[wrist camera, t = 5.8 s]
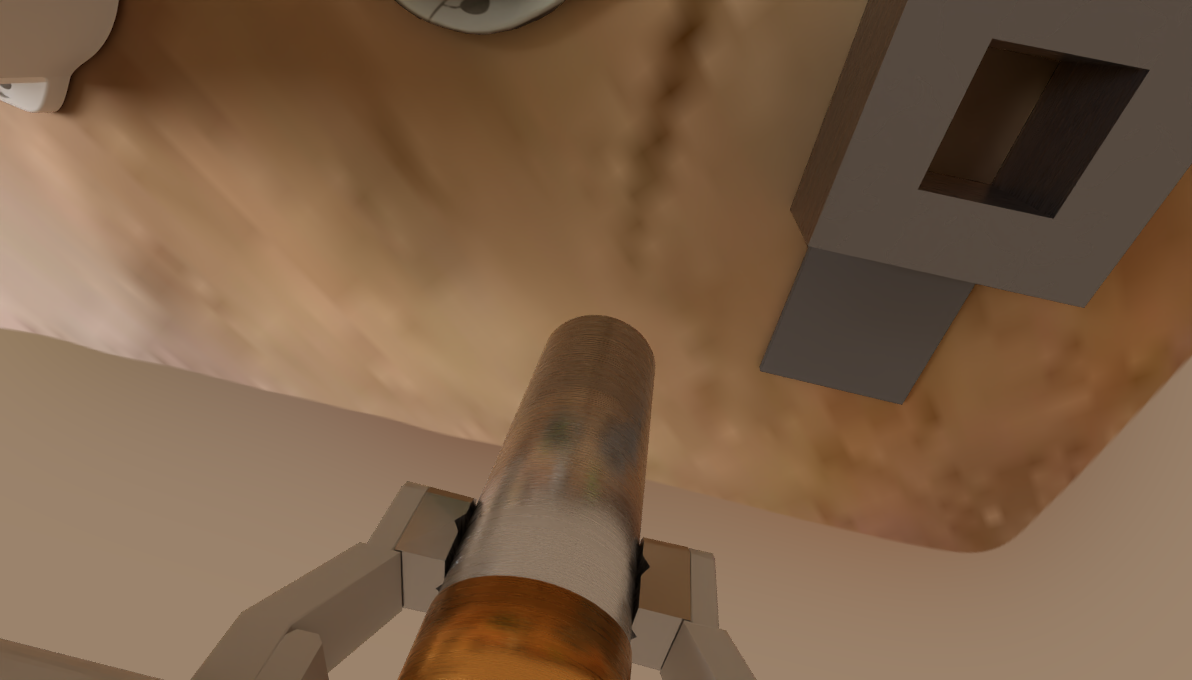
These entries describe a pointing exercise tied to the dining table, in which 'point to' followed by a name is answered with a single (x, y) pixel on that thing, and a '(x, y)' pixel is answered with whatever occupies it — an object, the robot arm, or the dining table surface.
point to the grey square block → (1035, 162)
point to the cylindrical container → (553, 524)
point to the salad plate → (480, 13)
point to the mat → (862, 324)
